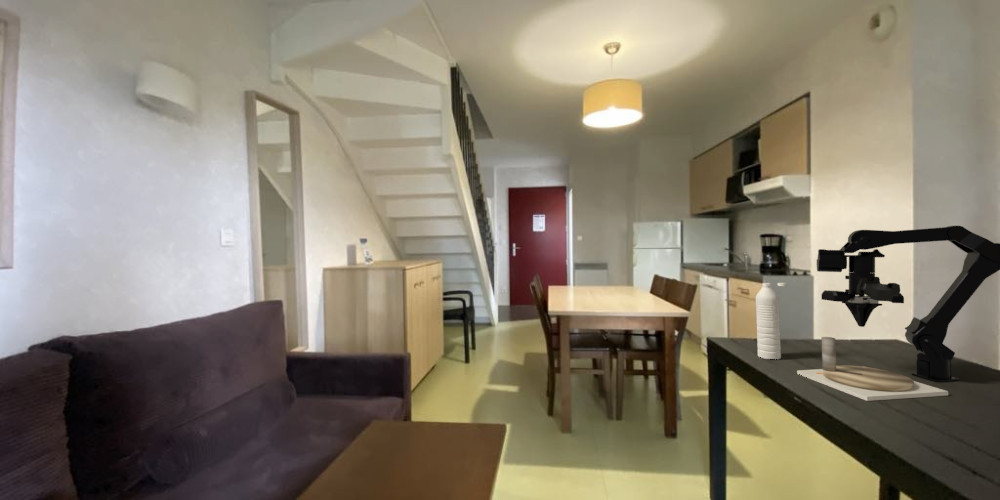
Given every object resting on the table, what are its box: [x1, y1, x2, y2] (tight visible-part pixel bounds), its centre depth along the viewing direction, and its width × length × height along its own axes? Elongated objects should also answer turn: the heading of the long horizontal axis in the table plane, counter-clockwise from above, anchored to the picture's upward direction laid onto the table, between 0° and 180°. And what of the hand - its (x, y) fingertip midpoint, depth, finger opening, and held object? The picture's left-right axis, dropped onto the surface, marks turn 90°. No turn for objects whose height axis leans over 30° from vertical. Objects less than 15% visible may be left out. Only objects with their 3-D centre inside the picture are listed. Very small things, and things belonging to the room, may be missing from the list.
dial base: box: [796, 366, 949, 402], centre depth 108 cm, size 21×21×1 cm
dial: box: [821, 336, 915, 391], centre depth 108 cm, size 18×18×10 cm
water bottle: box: [755, 282, 788, 360], centre depth 134 cm, size 9×6×25 cm
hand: (861, 326), depth 117 cm, fingers closed
